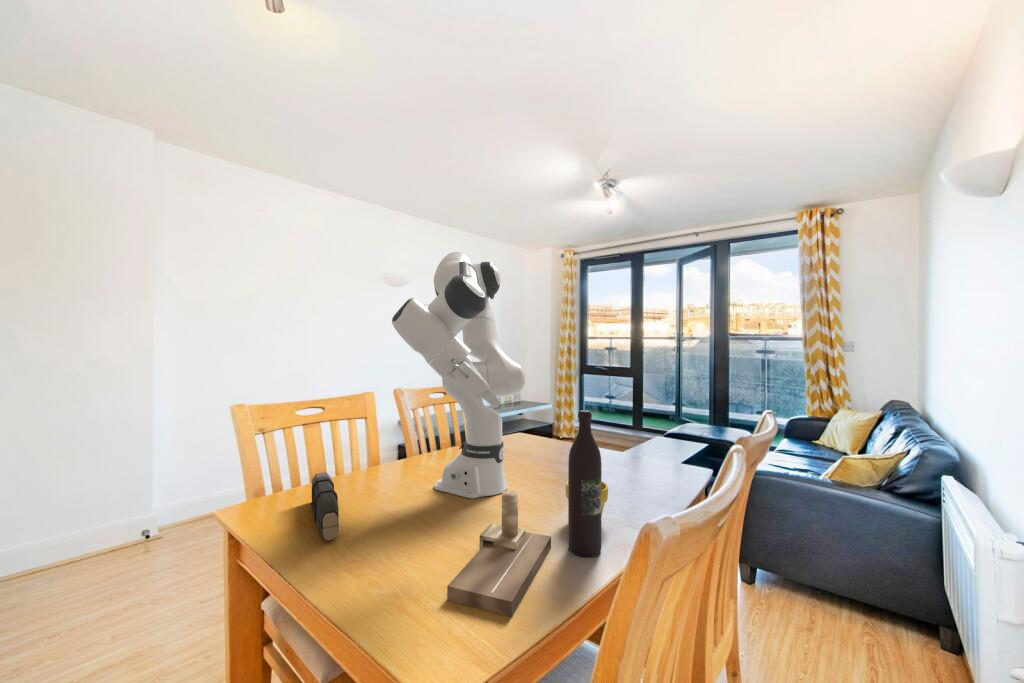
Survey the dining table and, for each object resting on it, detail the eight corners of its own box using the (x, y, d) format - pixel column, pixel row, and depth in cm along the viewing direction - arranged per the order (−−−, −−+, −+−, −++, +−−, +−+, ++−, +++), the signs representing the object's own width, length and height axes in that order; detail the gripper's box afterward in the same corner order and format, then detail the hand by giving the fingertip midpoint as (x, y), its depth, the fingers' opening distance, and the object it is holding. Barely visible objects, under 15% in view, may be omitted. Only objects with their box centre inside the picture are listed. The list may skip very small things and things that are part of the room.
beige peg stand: (479, 552, 86) (479, 495, 86) (490, 539, 91) (490, 485, 91) (516, 559, 83) (516, 500, 83) (525, 545, 89) (525, 490, 89)
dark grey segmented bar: (307, 563, 88) (303, 499, 114) (340, 562, 91) (328, 500, 117) (321, 514, 88) (314, 462, 114) (353, 515, 91) (339, 464, 117)
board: (447, 600, 70) (447, 585, 70) (500, 538, 93) (500, 527, 93) (511, 617, 66) (511, 601, 66) (551, 547, 89) (551, 536, 89)
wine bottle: (579, 560, 83) (580, 414, 83) (562, 545, 90) (562, 409, 90) (608, 553, 86) (608, 412, 86) (589, 539, 93) (589, 407, 93)
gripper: (463, 350, 80) (512, 398, 82) (461, 348, 100) (500, 387, 102) (440, 373, 80) (490, 421, 81) (443, 366, 100) (482, 405, 101)
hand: (495, 402), depth 92 cm, fingers open, 8 cm apart
